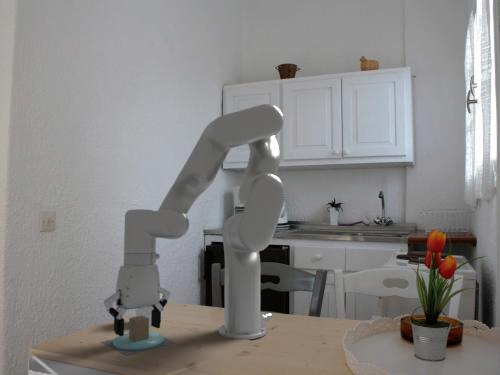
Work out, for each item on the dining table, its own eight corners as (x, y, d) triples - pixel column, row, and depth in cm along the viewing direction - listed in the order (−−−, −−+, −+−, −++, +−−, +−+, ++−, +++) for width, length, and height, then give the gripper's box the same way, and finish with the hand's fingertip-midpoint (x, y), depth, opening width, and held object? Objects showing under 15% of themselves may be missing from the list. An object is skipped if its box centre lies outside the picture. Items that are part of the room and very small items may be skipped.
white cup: (156, 329, 114) (156, 292, 114) (129, 328, 115) (129, 291, 116) (167, 321, 121) (167, 287, 122) (142, 320, 123) (142, 286, 124)
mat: (148, 333, 111) (148, 331, 111) (176, 344, 101) (176, 342, 101) (101, 344, 102) (101, 341, 102) (126, 358, 92) (126, 355, 92)
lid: (148, 331, 110) (148, 309, 110) (173, 342, 101) (173, 318, 101) (104, 342, 102) (104, 317, 102) (127, 354, 93) (128, 328, 93)
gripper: (162, 256, 111) (160, 321, 110) (98, 261, 99) (96, 334, 98) (178, 258, 106) (176, 327, 105) (113, 264, 94) (110, 342, 93)
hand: (138, 330), depth 101 cm, fingers open, 9 cm apart
